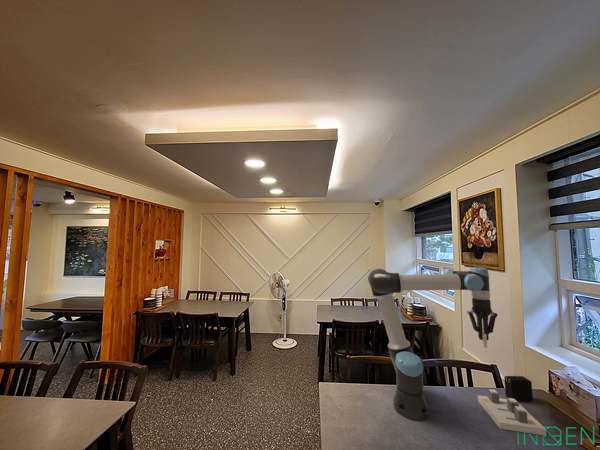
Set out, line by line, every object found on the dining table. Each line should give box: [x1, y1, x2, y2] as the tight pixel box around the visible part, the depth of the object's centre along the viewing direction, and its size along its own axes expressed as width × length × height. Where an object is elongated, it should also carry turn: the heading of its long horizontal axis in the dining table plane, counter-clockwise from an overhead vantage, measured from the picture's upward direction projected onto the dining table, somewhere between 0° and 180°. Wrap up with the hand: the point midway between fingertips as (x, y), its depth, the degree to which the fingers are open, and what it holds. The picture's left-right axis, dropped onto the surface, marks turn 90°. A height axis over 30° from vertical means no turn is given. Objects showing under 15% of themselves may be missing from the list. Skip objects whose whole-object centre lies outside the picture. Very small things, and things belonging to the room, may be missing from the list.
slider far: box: [487, 388, 500, 403], centre depth 114 cm, size 3×3×5 cm
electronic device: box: [503, 375, 534, 403], centre depth 121 cm, size 4×10×10 cm, turn 89°
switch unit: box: [477, 395, 547, 437], centre depth 108 cm, size 16×19×3 cm
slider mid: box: [506, 397, 520, 413], centre depth 108 cm, size 3×3×5 cm
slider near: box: [514, 406, 528, 423], centre depth 102 cm, size 3×3×5 cm
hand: (484, 346), depth 120 cm, fingers closed
